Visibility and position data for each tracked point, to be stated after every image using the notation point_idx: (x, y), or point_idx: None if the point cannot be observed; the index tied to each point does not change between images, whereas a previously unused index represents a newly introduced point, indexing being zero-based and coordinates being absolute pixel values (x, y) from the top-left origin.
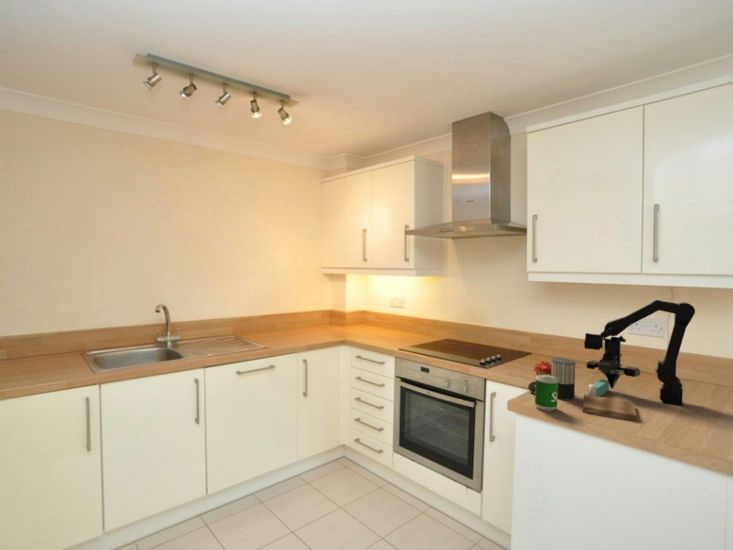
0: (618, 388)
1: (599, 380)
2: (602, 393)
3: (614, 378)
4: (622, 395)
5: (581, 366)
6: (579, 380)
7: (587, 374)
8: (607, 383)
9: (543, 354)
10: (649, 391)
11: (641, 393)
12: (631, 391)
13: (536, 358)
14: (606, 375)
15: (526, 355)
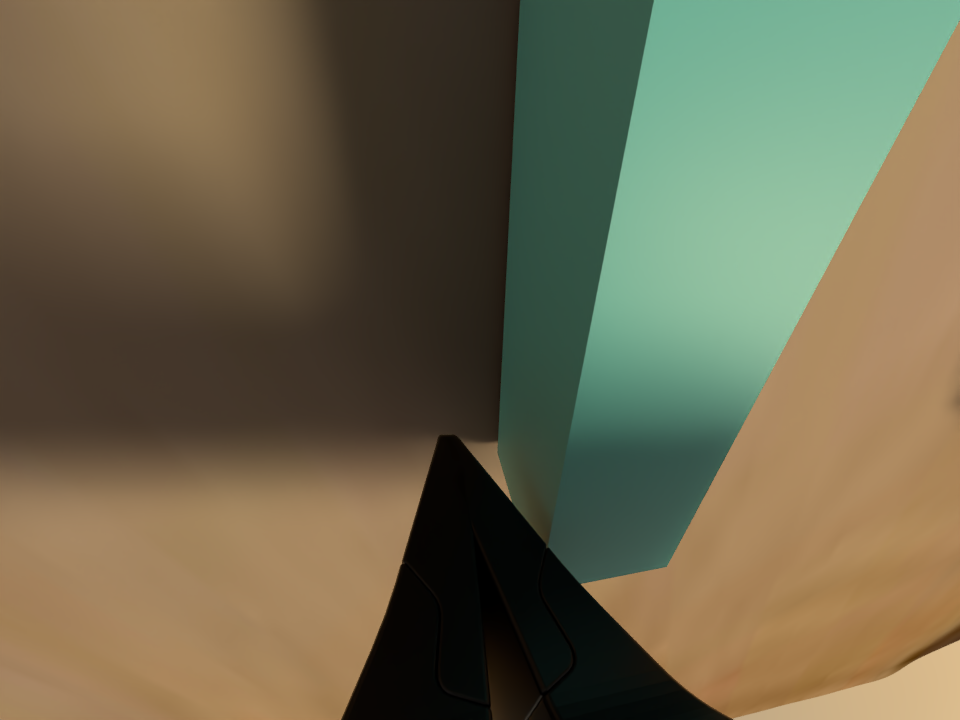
0: None
1: (708, 478)
2: (524, 60)
3: (376, 703)
4: (274, 389)
5: (710, 691)
6: (772, 514)
7: (692, 639)
8: (539, 486)
9: (848, 683)
10: (221, 678)
11: (210, 606)
12: (313, 587)
13: (909, 638)
14: (679, 714)
15: (941, 637)
